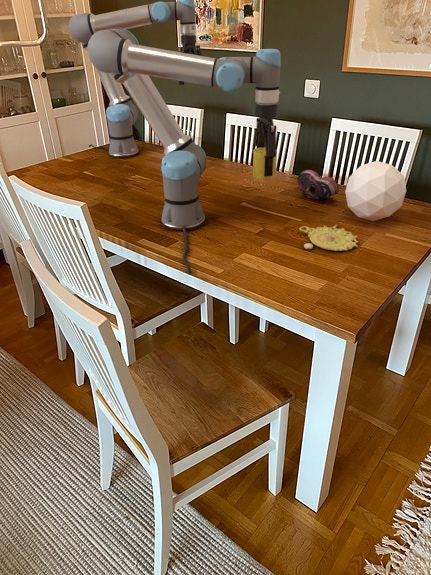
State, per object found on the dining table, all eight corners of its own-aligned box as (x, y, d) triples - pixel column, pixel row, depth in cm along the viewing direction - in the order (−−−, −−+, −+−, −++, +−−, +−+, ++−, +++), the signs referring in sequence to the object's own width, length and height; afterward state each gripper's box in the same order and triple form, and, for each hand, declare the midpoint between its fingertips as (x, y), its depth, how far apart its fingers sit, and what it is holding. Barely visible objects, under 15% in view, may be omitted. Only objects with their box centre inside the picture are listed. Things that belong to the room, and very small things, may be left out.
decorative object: (343, 255, 128) (285, 234, 139) (342, 262, 130) (284, 241, 140) (372, 230, 142) (317, 213, 152) (371, 237, 143) (316, 219, 153)
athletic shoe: (306, 169, 182) (282, 176, 178) (340, 163, 162) (313, 171, 158) (311, 196, 184) (288, 204, 181) (345, 193, 165) (320, 202, 161)
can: (267, 171, 161) (268, 146, 156) (280, 177, 155) (281, 151, 150) (248, 174, 158) (249, 149, 153) (260, 181, 152) (261, 154, 147)
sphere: (378, 240, 155) (398, 211, 136) (328, 211, 159) (341, 179, 141) (404, 201, 160) (427, 168, 141) (355, 174, 164) (371, 139, 145)
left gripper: (175, 36, 202) (179, 86, 213) (211, 33, 218) (212, 80, 229) (164, 36, 206) (168, 85, 217) (199, 33, 222) (201, 79, 233)
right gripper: (289, 108, 135) (284, 180, 148) (267, 97, 153) (265, 162, 165) (266, 110, 134) (263, 182, 146) (246, 98, 151) (245, 164, 163)
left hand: (190, 83), depth 223 cm, fingers open, 13 cm apart
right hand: (264, 171), depth 155 cm, fingers closed on can, 8 cm apart
